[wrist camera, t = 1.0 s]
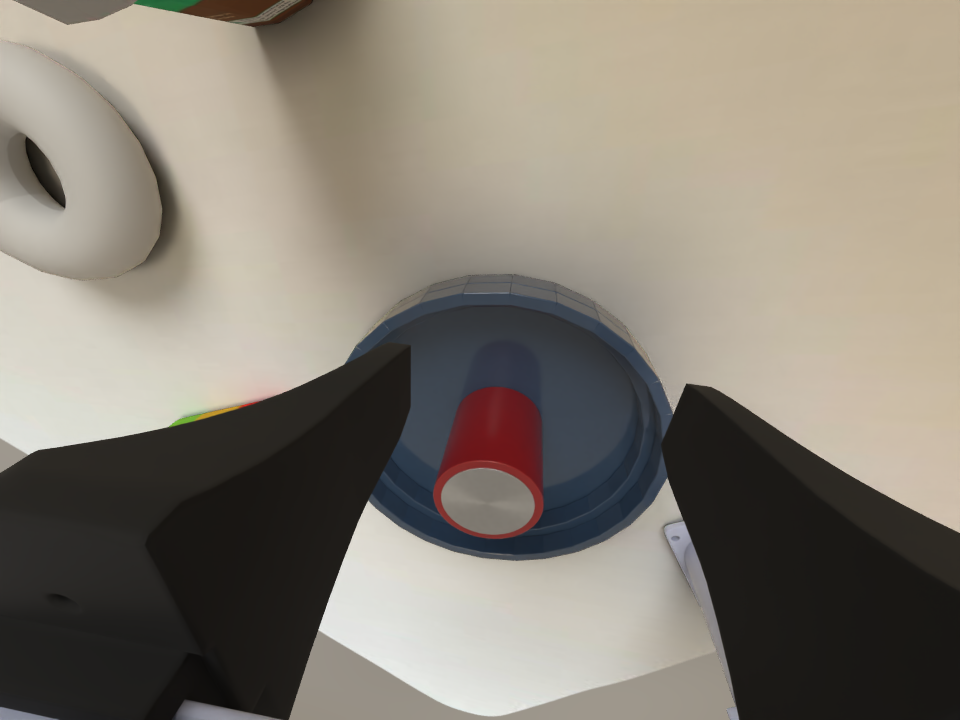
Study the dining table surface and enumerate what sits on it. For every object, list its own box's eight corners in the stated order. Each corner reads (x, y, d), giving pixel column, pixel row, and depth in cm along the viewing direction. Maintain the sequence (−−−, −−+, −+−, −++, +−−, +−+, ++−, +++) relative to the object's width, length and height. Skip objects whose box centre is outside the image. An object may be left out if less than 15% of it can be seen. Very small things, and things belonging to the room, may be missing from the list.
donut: (206, 153, 19) (-23, -20, 16) (144, 157, 16) (-148, -54, 13) (154, 303, 23) (-31, 185, 21) (98, 328, 20) (-126, 194, 18)
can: (556, 440, 24) (561, 526, 18) (481, 464, 25) (466, 549, 20) (518, 373, 22) (512, 447, 16) (439, 404, 23) (411, 480, 18)
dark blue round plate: (697, 481, 24) (716, 522, 22) (448, 544, 30) (440, 582, 28) (585, 203, 17) (593, 214, 15) (293, 355, 23) (263, 382, 21)
